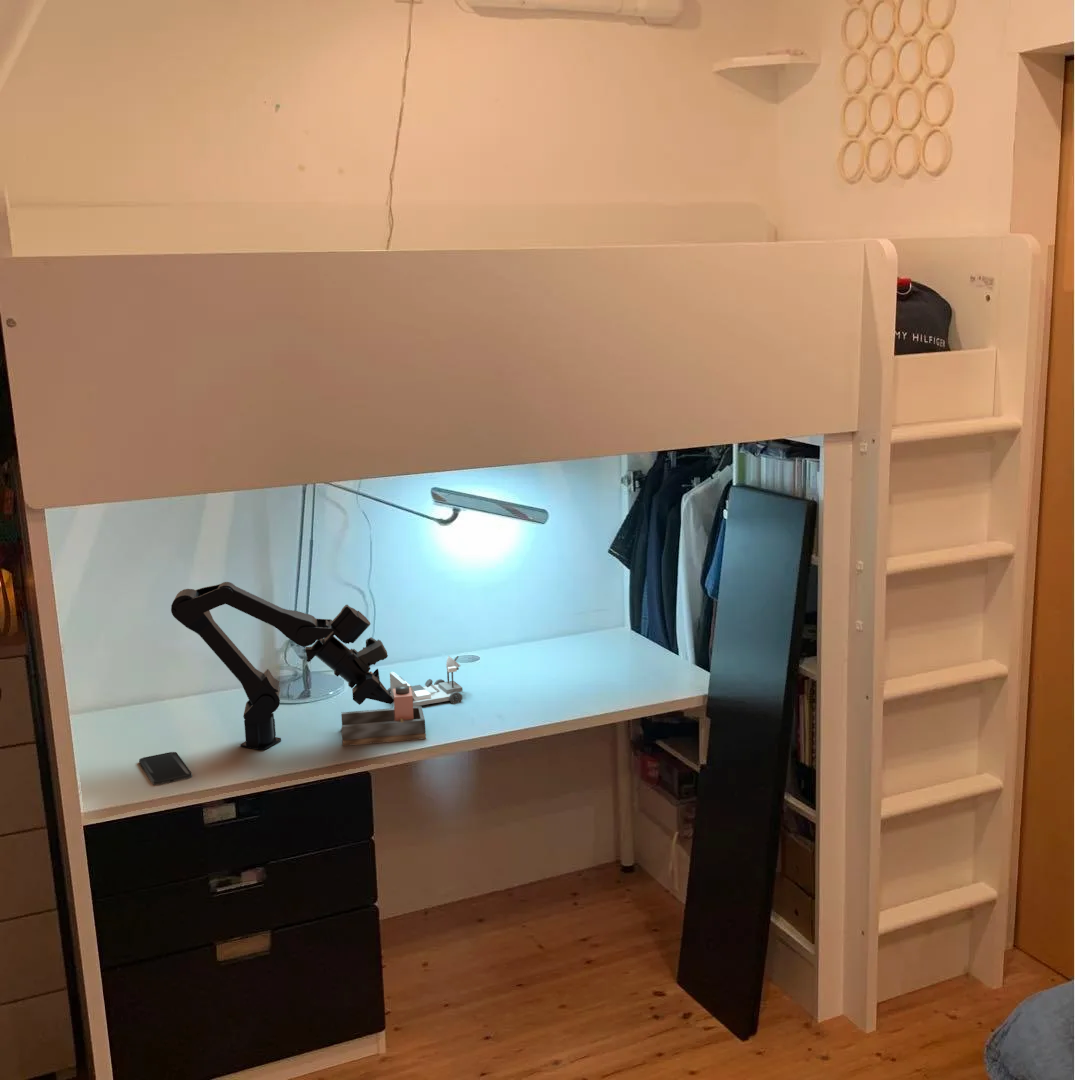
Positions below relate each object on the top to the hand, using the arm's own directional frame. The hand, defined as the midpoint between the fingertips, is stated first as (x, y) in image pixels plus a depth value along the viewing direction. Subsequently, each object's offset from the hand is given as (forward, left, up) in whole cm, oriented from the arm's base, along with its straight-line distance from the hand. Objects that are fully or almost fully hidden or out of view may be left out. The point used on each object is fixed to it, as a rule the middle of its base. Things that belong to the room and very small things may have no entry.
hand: (392, 702), depth 256 cm
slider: (+1, -2, -6) cm, 6 cm away
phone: (-35, +34, -8) cm, 50 cm away
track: (-1, +2, -7) cm, 8 cm away
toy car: (+23, +4, -8) cm, 24 cm away
